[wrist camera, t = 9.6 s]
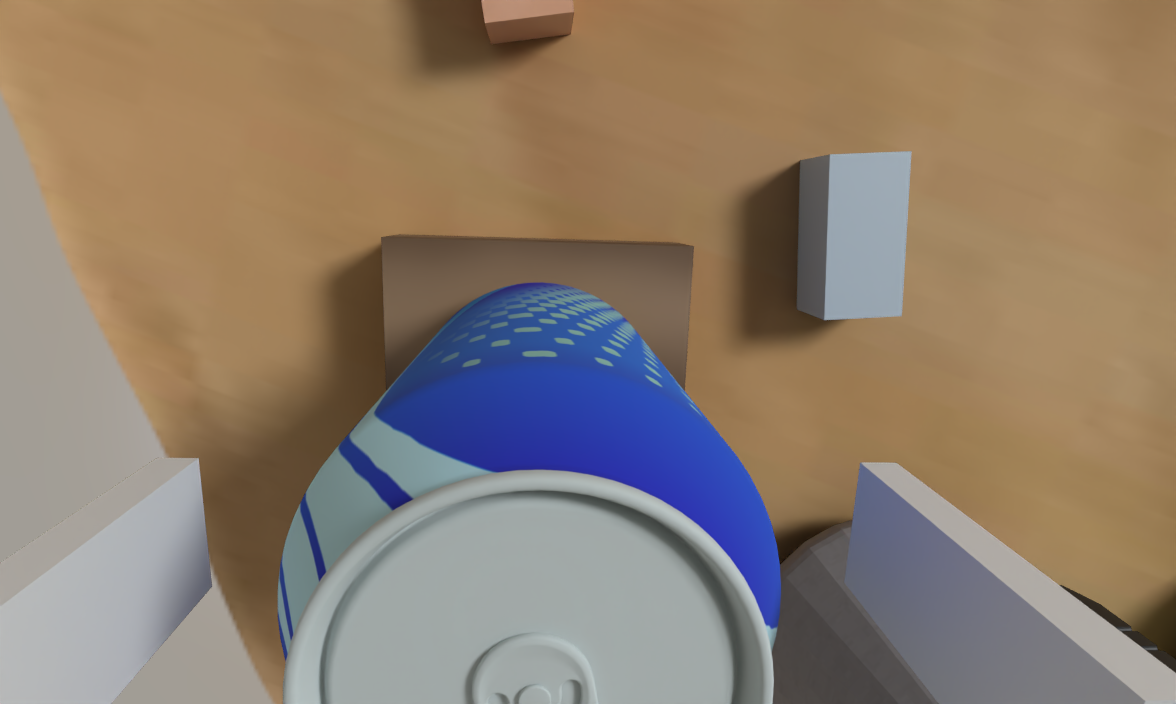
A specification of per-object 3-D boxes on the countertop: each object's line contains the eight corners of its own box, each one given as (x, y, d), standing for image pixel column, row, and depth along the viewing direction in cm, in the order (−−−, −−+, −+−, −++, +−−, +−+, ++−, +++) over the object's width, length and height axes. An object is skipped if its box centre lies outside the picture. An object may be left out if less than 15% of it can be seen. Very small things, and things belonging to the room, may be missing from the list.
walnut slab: (399, 234, 26) (381, 237, 23) (676, 242, 27) (693, 246, 24) (406, 496, 28) (390, 530, 25) (662, 497, 29) (675, 529, 26)
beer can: (383, 433, 24) (98, 826, 9) (494, 234, 23) (395, 276, 8) (579, 534, 26) (637, 1031, 10) (694, 351, 25) (961, 591, 9)
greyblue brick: (798, 160, 27) (830, 154, 24) (870, 157, 27) (911, 151, 24) (794, 308, 28) (824, 320, 25) (864, 305, 28) (901, 316, 25)
